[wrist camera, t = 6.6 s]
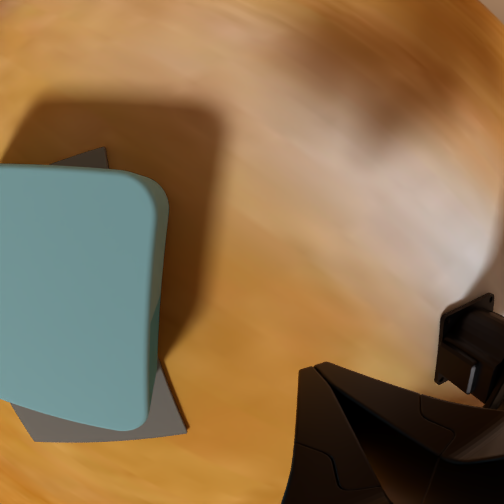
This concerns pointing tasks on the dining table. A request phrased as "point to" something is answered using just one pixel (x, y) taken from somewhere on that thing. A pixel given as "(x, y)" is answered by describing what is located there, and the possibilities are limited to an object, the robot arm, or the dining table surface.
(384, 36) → the dining table surface
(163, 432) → the mat
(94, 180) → the data package
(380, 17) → the dining table surface
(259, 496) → the dining table surface
